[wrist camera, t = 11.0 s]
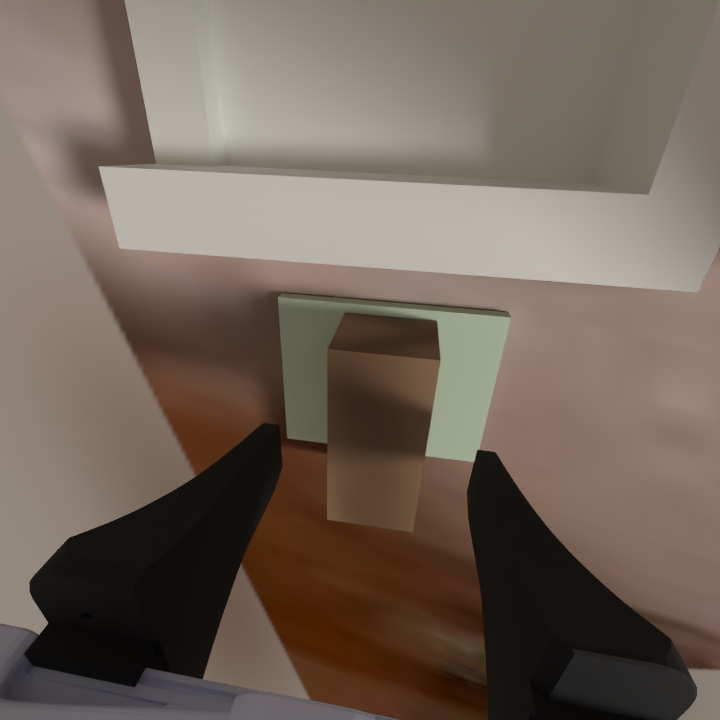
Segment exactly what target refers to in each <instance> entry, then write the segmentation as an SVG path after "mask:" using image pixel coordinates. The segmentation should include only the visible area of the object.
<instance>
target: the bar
mask: <svg viewBox="0 0 720 720" xmlns="http://www.w3.org/2000/svg"><path fill="white" fill-rule="evenodd" d="M440 361H441V359H440V347H439V336H438V324H437V321H434V320H423V319H412V318H401V317H391V316H380V315H369V314H358V313H347V312H345V313H344V316H343V318H342V320H341V322H340V324H339V326H338V328H337V330H336V332H335V334H334V336H333V338H332V340H331V342H330V345H329V347H328V349H327V520H334V521H340V522H347V523H354V524H360V525H367V526H374V527H380V528H387V529H394V530H400V531H407V532H413V529H414V522H415V516H416V510H417V504H418V498H419V491H420V485H421V479H422V473H423V467H424V460H425V454H426V448H427V442H428V436H429V430H430V423H431V417H432V411H433V405H434V399H435V392H436V386H437V380H438V374H439V368H440Z"/></svg>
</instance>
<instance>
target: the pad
mask: <svg viewBox="0 0 720 720" xmlns="http://www.w3.org/2000/svg"><path fill="white" fill-rule="evenodd" d="M278 309H279V324H280V338H281V353H282V368H283V382H284V397H285V412H286V426H287V438H288V439H296V440H304V441H312V442H320V443H327V349H328V347H329V345H330V342H331V340H332V338H333V336H334V334H335V332H336V330H337V328H338V326H339V324H340V322H341V320H342V318H343V316H344V313H345V312H347V313H358V314H369V315H380V316H391V317H401V318H412V319H423V320H434V321H437V324H438V336H439V347H440V359H441V361H440V368H439V374H438V380H437V386H436V392H435V399H434V405H433V411H432V417H431V423H430V430H429V436H428V442H427V448H426V454H425V456H430V457H438V458H446V459H454V460H462V461H470V462H474V461H475V457H476V452H477V450H479V448H480V444H481V440H482V436H483V431H484V427H485V423H486V419H487V415H488V411H489V407H490V403H491V399H492V394H493V390H494V386H495V382H496V378H497V374H498V370H499V366H500V362H501V357H502V353H503V349H504V345H505V341H506V337H507V333H508V329H509V325H510V320H511V316H510V314H509V312H499V311H488V310H476V309H464V308H452V307H441V306H429V305H417V304H405V303H394V302H382V301H370V300H358V299H346V298H335V297H323V296H311V295H299V294H288V293H282V294H281V295H280V296H279V297H278Z"/></svg>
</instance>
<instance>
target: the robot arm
mask: <svg viewBox="0 0 720 720" xmlns="http://www.w3.org/2000/svg"><path fill="white" fill-rule="evenodd" d="M281 469H282V454H281V442H280V430H279V425H274V424H266V423H263V424H262V425H260V426H259V427H258V428H257V429H256V430H254V431H253V432H252V433H251V434H250V435H249V436H247V437H246V438H245V439H244V440H243V441H242V442H240V443H239V444H238V445H237V446H236V447H234V448H233V449H232V450H231V451H229V452H228V453H227V454H226V455H224V456H223V457H222V458H221V459H219V460H218V461H217V462H215V463H214V464H213V465H211V466H210V467H209V468H207V469H206V470H205V471H203V472H202V473H200V474H199V475H198V476H196V477H195V478H193V479H192V480H190V481H188V482H187V483H185V484H184V485H182V486H181V487H179V488H177V489H176V490H174V491H172V492H170V493H169V494H167V495H165V496H163V497H161V498H159V499H157V500H156V501H154V502H152V503H150V504H148V505H146V506H144V507H142V508H140V509H138V510H136V511H134V512H132V513H130V514H128V515H125V516H123V517H121V518H119V519H116V520H114V521H112V522H109V523H107V524H104V525H102V526H99V527H97V528H94V529H91V530H89V531H87V532H84V533H81V534H78V535H76V536H73V537H70V538H69V539H68V540H67V541H66V542H65V543H64V544H63V545H62V546H61V547H60V548H59V549H58V550H57V551H56V552H55V553H54V555H53V556H52V557H51V558H50V559H49V560H48V561H47V562H46V563H45V564H44V565H43V567H42V568H41V569H40V570H39V571H38V572H37V573H36V574H35V575H34V576H33V578H32V579H31V581H30V593H31V596H32V598H33V600H34V601H35V603H36V604H37V606H38V607H39V609H40V610H41V612H42V614H43V615H44V617H45V618H46V620H47V621H48V625H47V626H46V627H45V628H44V630H43V631H42V632H41V633H40V635H38V634H37V633H35V632H33V631H31V630H28V629H25V628H20V627H15V626H10V625H5V624H0V720H399V719H394V718H389V717H385V716H380V715H375V714H370V713H365V712H362V711H359V710H355V709H350V708H345V707H341V706H336V705H331V704H326V703H321V702H316V701H311V700H306V699H301V698H296V697H292V696H287V695H282V694H277V693H272V692H264V691H257V690H252V689H247V688H242V687H238V686H233V685H228V684H223V683H218V682H213V681H208V680H203V676H204V672H205V669H206V666H207V662H208V659H209V656H210V653H211V649H212V646H213V643H214V640H215V637H216V634H217V631H218V628H219V624H220V621H221V618H222V615H223V612H224V609H225V606H226V604H227V601H228V597H229V595H230V592H231V589H232V586H233V583H234V581H235V578H236V575H237V572H238V570H239V567H240V564H241V562H242V559H243V556H244V554H245V552H246V549H247V547H248V545H249V543H250V541H251V539H252V537H253V534H254V532H255V530H256V528H257V526H258V524H259V522H260V520H261V518H262V516H263V514H264V512H265V510H266V507H267V505H268V503H269V501H270V499H271V497H272V495H273V493H274V490H275V487H276V484H277V481H278V479H279V475H280V472H281ZM467 501H468V519H469V525H470V531H471V537H472V543H473V549H474V554H475V560H476V566H477V571H478V577H479V583H480V590H481V598H482V611H483V624H484V638H485V654H486V671H487V691H488V716H489V720H677V719H678V718H679V717H680V716H681V715H682V714H683V713H684V712H685V711H686V710H687V709H688V708H689V707H690V706H691V705H692V703H693V702H694V700H695V699H696V696H697V687H696V685H695V683H694V681H693V679H692V677H691V675H690V673H689V671H688V669H687V667H686V665H685V663H684V661H683V659H682V657H681V656H680V654H679V652H678V651H677V649H676V647H675V646H674V644H673V642H672V640H671V639H670V638H669V637H668V636H666V635H665V634H664V633H662V632H661V631H660V630H659V629H657V628H656V627H655V626H653V625H652V624H651V623H649V622H648V621H647V620H646V619H644V618H643V617H642V616H640V615H639V614H638V613H636V612H635V611H634V610H633V609H631V608H630V607H629V606H628V605H627V604H625V603H624V602H623V601H622V600H621V599H619V598H618V597H617V596H616V595H615V594H614V593H612V592H611V591H610V590H609V589H608V588H607V587H606V586H604V585H603V584H602V583H601V582H600V581H599V580H598V579H597V578H596V577H595V576H594V575H593V574H591V573H590V572H589V571H588V570H587V569H586V568H585V567H584V566H583V565H582V564H581V563H580V562H579V561H578V560H577V559H576V558H575V557H574V556H573V555H572V554H571V553H570V552H569V551H568V550H567V549H566V548H565V546H564V545H563V544H562V543H561V542H560V541H559V540H558V539H557V538H556V536H555V535H554V534H553V533H552V532H551V531H550V529H549V528H548V527H547V526H546V525H545V523H544V522H543V521H542V520H541V518H540V517H539V516H538V514H537V513H536V512H535V511H534V509H533V508H532V507H531V505H530V504H529V502H528V501H527V500H526V498H525V497H524V495H523V494H522V493H521V491H520V490H519V488H518V487H517V485H516V484H515V482H514V481H513V479H512V478H511V476H510V475H509V473H508V471H507V470H506V468H505V467H504V465H503V463H502V462H501V460H500V459H499V457H498V455H497V454H496V453H495V452H490V451H482V450H477V452H476V457H475V461H474V465H473V469H472V473H471V477H470V481H469V486H468V490H467Z"/></svg>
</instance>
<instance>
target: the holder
mask: <svg viewBox="0 0 720 720" xmlns="http://www.w3.org/2000/svg"><path fill="white" fill-rule="evenodd" d="M125 6H126V11H127V16H128V21H129V26H130V31H131V37H132V42H133V47H134V52H135V57H136V63H137V68H138V73H139V78H140V83H141V88H142V94H143V99H144V104H145V109H146V114H147V119H148V125H149V130H150V135H151V140H152V145H153V150H154V156H155V161H156V164H139V165H117V166H99V170H100V174H101V178H102V182H103V186H104V190H105V194H106V197H107V201H108V205H109V209H110V213H111V217H112V221H113V225H114V228H115V232H116V236H117V240H118V244H119V248H120V249H133V250H147V251H160V252H173V253H186V254H199V255H213V256H226V257H239V258H252V259H265V260H279V261H292V262H305V263H318V264H331V265H345V266H358V267H371V268H384V269H397V270H410V271H424V272H437V273H450V274H463V275H476V276H490V277H503V278H516V279H529V280H542V281H556V282H569V283H582V284H595V285H608V286H622V287H635V288H648V289H661V290H674V291H688V292H698V291H699V289H700V287H701V285H702V283H703V281H704V279H705V277H706V275H707V273H708V270H709V268H710V266H711V264H712V262H713V260H714V258H715V256H716V254H717V252H718V250H719V247H720V0H125Z"/></svg>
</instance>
